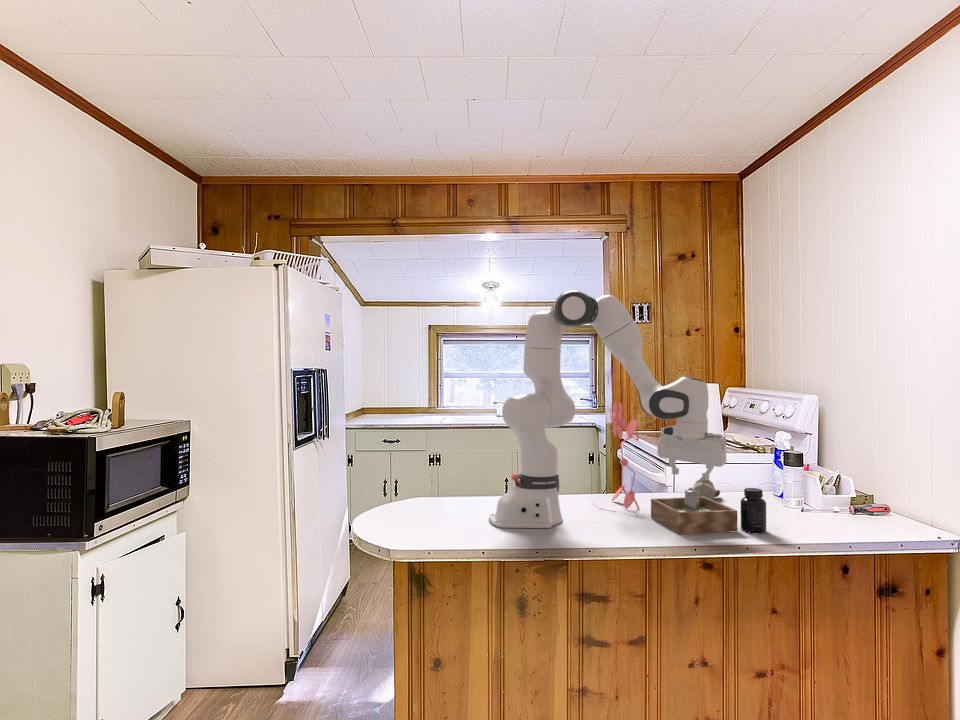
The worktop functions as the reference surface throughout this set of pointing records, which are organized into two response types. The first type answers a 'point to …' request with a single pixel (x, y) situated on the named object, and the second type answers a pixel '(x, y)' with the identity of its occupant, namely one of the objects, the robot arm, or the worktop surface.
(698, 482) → the ceramic sculpture
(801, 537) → the worktop surface
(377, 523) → the worktop surface
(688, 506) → the peg
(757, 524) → the supplement bottle
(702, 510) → the box
